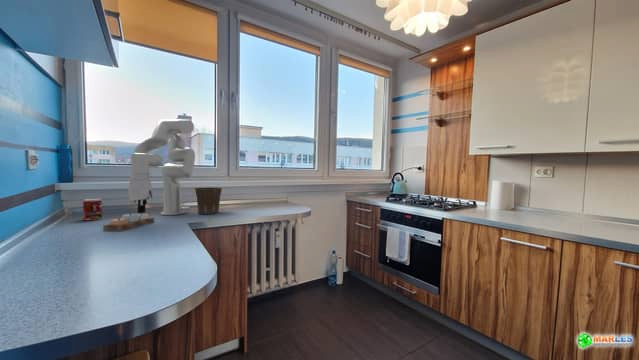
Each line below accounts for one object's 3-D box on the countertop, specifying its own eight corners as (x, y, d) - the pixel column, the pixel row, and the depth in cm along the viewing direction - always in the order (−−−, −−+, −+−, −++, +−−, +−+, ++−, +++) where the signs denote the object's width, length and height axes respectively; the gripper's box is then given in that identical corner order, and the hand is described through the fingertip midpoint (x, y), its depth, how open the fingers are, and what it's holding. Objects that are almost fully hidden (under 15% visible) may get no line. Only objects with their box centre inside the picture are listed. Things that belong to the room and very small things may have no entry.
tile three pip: (118, 225, 123) (118, 217, 122) (127, 226, 122) (127, 218, 122) (110, 228, 118) (109, 219, 118) (119, 228, 117) (119, 219, 117)
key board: (139, 221, 137) (139, 217, 137) (153, 222, 136) (153, 217, 136) (103, 230, 117) (103, 225, 117) (120, 231, 116) (120, 225, 116)
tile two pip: (130, 220, 129) (130, 213, 129) (138, 221, 128) (138, 213, 128) (122, 222, 124) (122, 214, 124) (130, 223, 124) (130, 214, 124)
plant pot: (222, 210, 177) (222, 187, 176) (222, 214, 161) (222, 188, 161) (196, 211, 171) (196, 187, 170) (193, 215, 156) (193, 189, 155)
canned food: (85, 221, 136) (85, 200, 136) (81, 219, 141) (81, 199, 140) (104, 219, 142) (103, 199, 142) (99, 217, 147) (99, 198, 147)
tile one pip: (140, 220, 135) (140, 213, 135) (148, 221, 135) (148, 213, 135) (133, 222, 131) (133, 214, 130) (141, 222, 130) (141, 215, 130)
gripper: (120, 177, 129) (122, 213, 130) (148, 178, 127) (149, 214, 129) (133, 176, 137) (134, 211, 138) (159, 177, 135) (160, 211, 136)
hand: (141, 212), depth 133 cm, fingers closed
